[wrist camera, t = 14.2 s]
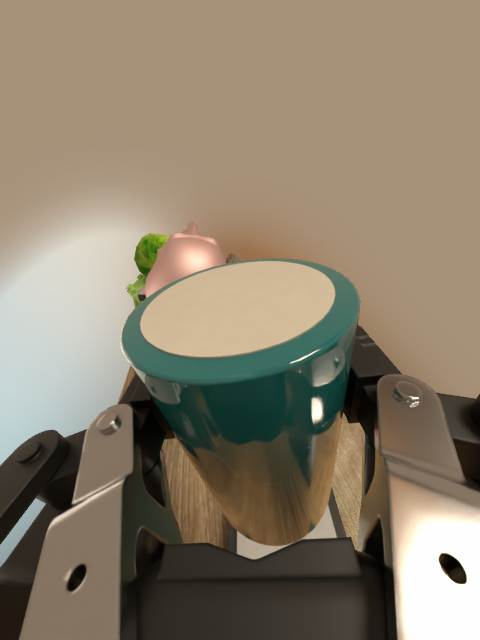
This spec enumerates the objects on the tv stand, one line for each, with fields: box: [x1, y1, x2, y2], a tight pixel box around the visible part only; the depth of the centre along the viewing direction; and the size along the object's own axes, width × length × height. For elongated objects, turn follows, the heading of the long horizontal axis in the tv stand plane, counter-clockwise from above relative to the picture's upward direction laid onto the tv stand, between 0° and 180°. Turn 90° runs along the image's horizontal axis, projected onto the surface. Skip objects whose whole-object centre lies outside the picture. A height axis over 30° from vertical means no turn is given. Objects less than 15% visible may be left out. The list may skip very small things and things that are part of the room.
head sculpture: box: [145, 221, 226, 298], centre depth 54 cm, size 20×26×30 cm
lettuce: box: [134, 233, 171, 277], centre depth 74 cm, size 17×20×15 cm
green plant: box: [126, 274, 147, 308], centre depth 78 cm, size 15×14×11 cm
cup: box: [121, 259, 360, 546], centre depth 8 cm, size 6×6×10 cm
